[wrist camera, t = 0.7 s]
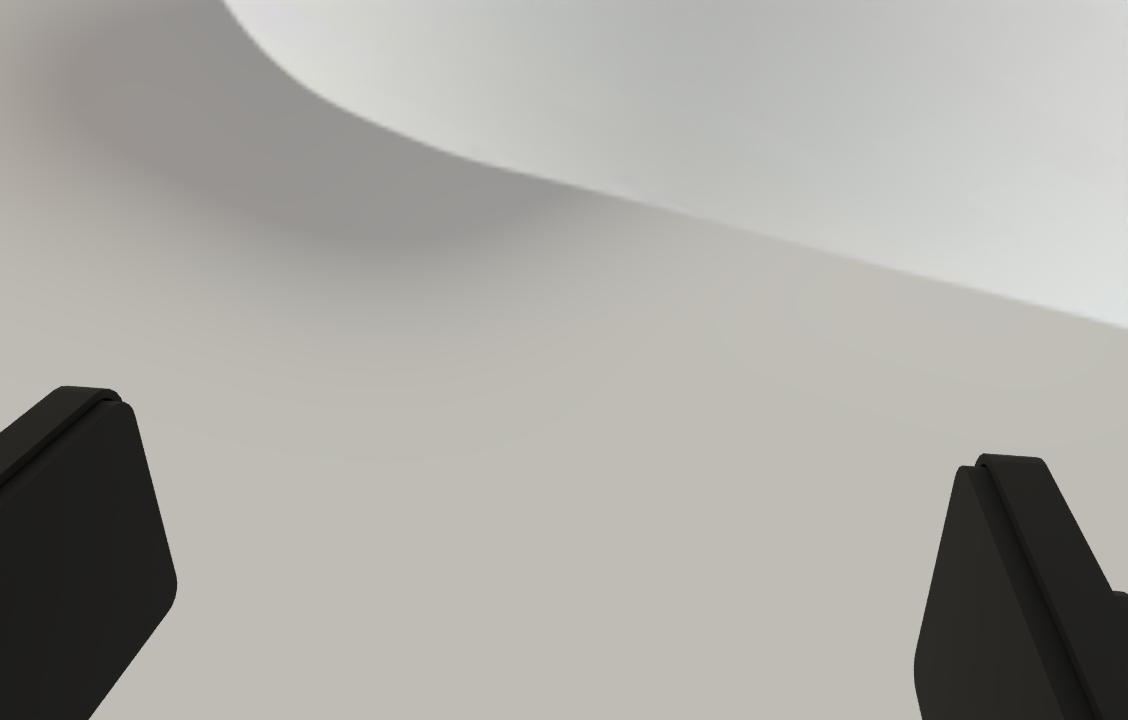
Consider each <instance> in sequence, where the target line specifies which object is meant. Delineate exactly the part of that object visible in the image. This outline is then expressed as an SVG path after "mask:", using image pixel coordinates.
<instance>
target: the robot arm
mask: <svg viewBox="0 0 1128 720" xmlns="http://www.w3.org/2000/svg"><path fill="white" fill-rule="evenodd" d="M176 591H177V577H176V573H175V569H174V565H173V561H172V558H171V554H170V550H169V546H168V542H167V538H166V535H165V530H164V526H163V522H162V518H161V514H160V511H159V507H158V503H157V499H156V495H155V491H154V487H153V483H152V479H151V476H150V471H149V468H148V464H147V460H146V456H145V452H144V448H143V444H142V440H141V436H140V433H139V429H138V425H137V421H136V417H135V414H134V411H133V409H132V407H131V406H130V405H129V404H127V403H125V402H122V399H121V397H120V396H119V395H118V394H117V393H116V392H115V391H113V390H111V389H103V388H90V387H77V386H61V387H59V388H57V389H55V390H53V391H52V392H51V393H50V394H48V395H47V396H46V397H45V398H43V399H42V400H41V401H40V402H38V403H37V404H36V405H35V406H33V407H32V408H31V409H29V410H28V411H27V412H26V413H25V414H23V415H22V416H21V417H19V418H18V419H17V420H16V421H14V422H13V423H12V424H11V425H9V426H8V427H7V428H5V429H4V430H3V431H2V432H0V720H89V718H90V717H91V716H92V714H93V713H94V712H95V710H96V709H97V707H98V706H99V705H100V703H101V702H102V700H103V699H104V698H105V697H106V695H107V694H108V692H109V691H110V690H111V689H112V687H113V686H114V684H115V683H116V682H117V680H118V679H119V678H120V676H121V675H122V674H123V672H124V671H125V670H126V668H127V667H128V666H129V664H130V663H131V661H132V660H133V659H134V657H135V656H136V655H137V653H138V652H139V651H140V649H141V648H142V646H143V645H144V644H145V643H146V641H147V640H148V639H149V637H150V636H151V634H152V633H153V632H154V630H155V629H156V627H157V626H158V625H159V624H160V622H161V621H162V620H163V618H164V617H165V616H166V614H167V613H168V611H169V610H170V608H171V606H172V605H173V602H174V599H175V596H176ZM914 681H915V688H916V694H917V698H918V703H919V707H920V711H921V716H922V720H1128V594H1127V593H1125V592H1120V591H1112V589H1111V587H1110V585H1109V583H1108V581H1107V579H1106V577H1105V576H1104V574H1103V572H1102V570H1101V568H1100V566H1099V564H1098V562H1097V560H1096V558H1095V557H1094V555H1093V553H1092V551H1091V549H1090V547H1089V545H1088V543H1087V541H1086V540H1085V538H1084V536H1083V534H1082V532H1081V530H1080V528H1079V526H1078V524H1077V522H1076V520H1075V518H1074V517H1073V515H1072V513H1071V511H1070V509H1069V507H1068V505H1067V503H1066V501H1065V499H1064V497H1063V496H1062V494H1061V492H1060V490H1059V488H1058V486H1057V484H1056V483H1055V480H1054V478H1053V477H1052V475H1051V473H1050V471H1049V469H1048V467H1047V465H1046V464H1045V462H1044V461H1043V460H1042V459H1041V458H1037V457H1026V456H1012V455H999V454H985V453H983V454H982V455H980V456H979V458H978V460H977V461H976V464H975V466H961V467H959V469H958V471H957V473H956V476H955V480H954V484H953V488H952V493H951V498H950V502H949V506H948V510H947V516H946V519H945V524H944V529H943V533H942V537H941V542H940V546H939V551H938V555H937V559H936V564H935V568H934V572H933V578H932V582H931V586H930V590H929V595H928V599H927V604H926V608H925V612H924V617H923V621H922V626H921V630H920V635H919V639H918V643H917V648H916V653H915V660H914Z"/></svg>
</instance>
